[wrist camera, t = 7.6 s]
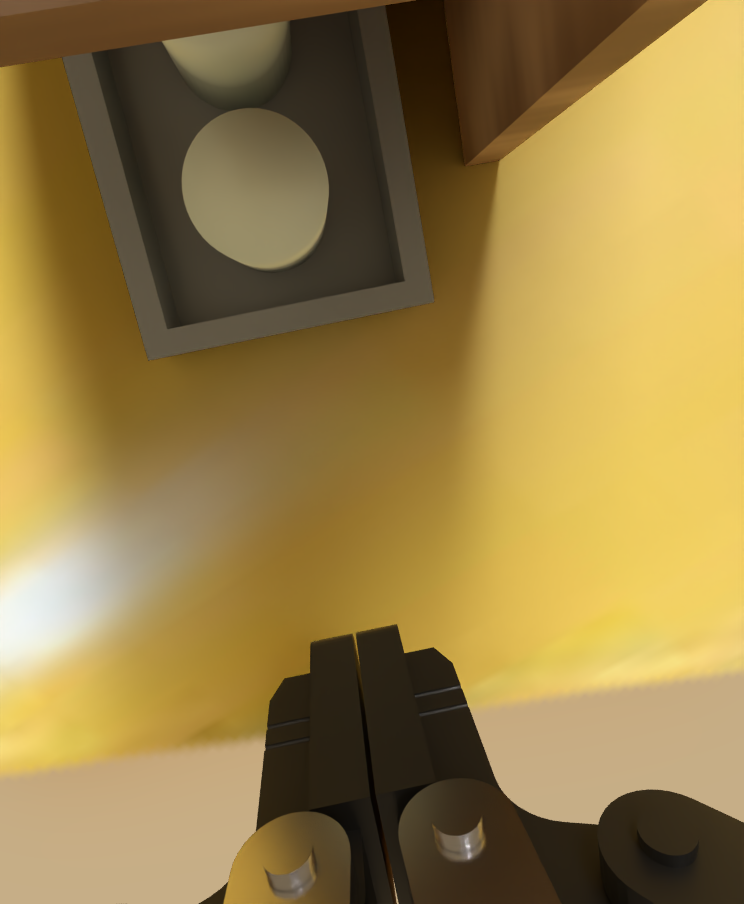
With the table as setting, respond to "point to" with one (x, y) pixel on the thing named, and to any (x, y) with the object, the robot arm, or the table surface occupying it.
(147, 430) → the table surface
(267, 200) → the cream piece
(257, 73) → the cream cylinder
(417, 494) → the table surface
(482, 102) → the brown wooden cube
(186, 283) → the tray
